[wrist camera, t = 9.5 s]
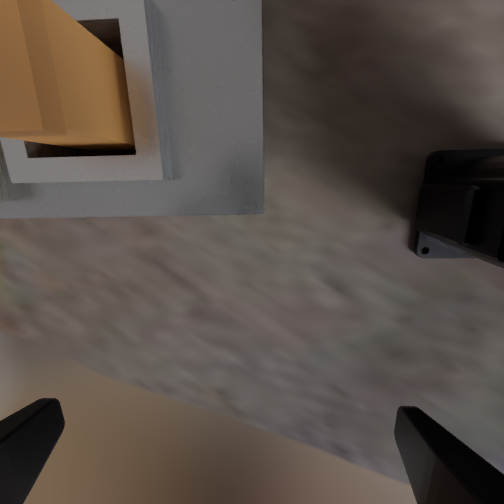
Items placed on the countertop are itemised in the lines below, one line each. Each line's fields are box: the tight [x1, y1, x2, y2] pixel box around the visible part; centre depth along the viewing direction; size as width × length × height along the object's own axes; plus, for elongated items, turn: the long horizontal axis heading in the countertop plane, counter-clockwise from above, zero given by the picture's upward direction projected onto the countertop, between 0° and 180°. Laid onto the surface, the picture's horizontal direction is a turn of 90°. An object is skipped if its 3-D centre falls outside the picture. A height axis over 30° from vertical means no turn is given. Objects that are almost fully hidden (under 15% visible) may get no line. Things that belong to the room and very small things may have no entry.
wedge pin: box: [0, 0, 136, 151], centre depth 12 cm, size 5×5×9 cm
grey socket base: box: [0, 0, 264, 218], centre depth 14 cm, size 18×12×4 cm, turn 91°
